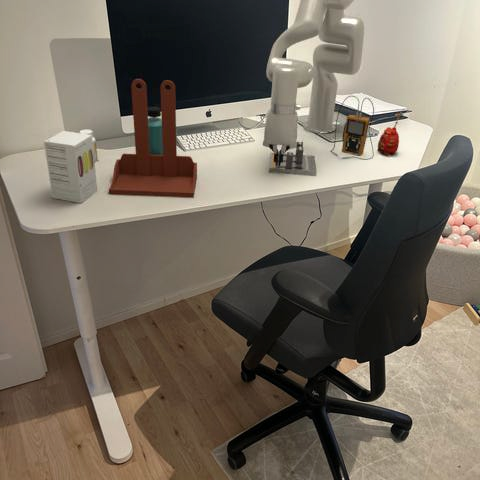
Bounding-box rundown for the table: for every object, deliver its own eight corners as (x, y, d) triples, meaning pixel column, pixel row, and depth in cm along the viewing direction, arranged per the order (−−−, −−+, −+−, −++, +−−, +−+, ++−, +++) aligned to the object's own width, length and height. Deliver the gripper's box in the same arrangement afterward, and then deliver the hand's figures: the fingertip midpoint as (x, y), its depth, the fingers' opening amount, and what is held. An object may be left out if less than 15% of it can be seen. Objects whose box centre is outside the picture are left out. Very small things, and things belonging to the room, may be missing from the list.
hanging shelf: (109, 194, 148) (98, 89, 132) (118, 175, 159) (109, 76, 143) (193, 198, 148) (193, 94, 133) (197, 178, 159) (197, 80, 144)
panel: (270, 156, 176) (270, 152, 176) (314, 160, 176) (314, 155, 175) (269, 172, 165) (269, 167, 165) (316, 175, 165) (316, 171, 164)
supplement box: (81, 204, 142) (73, 146, 133) (51, 198, 144) (42, 141, 135) (98, 189, 150) (92, 134, 141) (70, 184, 152) (62, 129, 143)
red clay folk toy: (372, 149, 187) (380, 109, 179) (389, 148, 189) (398, 107, 181) (384, 157, 180) (392, 116, 173) (401, 156, 182) (410, 114, 175)
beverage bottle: (171, 169, 164) (169, 107, 154) (158, 176, 159) (155, 113, 149) (155, 164, 167) (152, 103, 156) (141, 171, 162) (137, 108, 151)
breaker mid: (295, 159, 171) (297, 146, 168) (301, 160, 171) (303, 146, 168) (296, 162, 169) (297, 149, 166) (302, 162, 168) (303, 149, 166)
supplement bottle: (89, 155, 171) (85, 127, 166) (101, 159, 168) (98, 131, 163) (76, 160, 167) (73, 132, 162) (89, 164, 164) (85, 135, 159)
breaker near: (285, 164, 166) (286, 151, 164) (291, 165, 166) (293, 151, 164) (285, 167, 164) (287, 154, 162) (291, 168, 164) (293, 154, 162)
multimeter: (324, 156, 179) (332, 99, 168) (334, 147, 187) (342, 92, 176) (365, 166, 173) (376, 107, 163) (373, 156, 181) (384, 100, 171)
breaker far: (295, 153, 175) (297, 140, 172) (301, 154, 175) (303, 141, 172) (295, 156, 173) (297, 143, 170) (301, 157, 173) (303, 144, 170)
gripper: (307, 105, 159) (301, 161, 168) (258, 102, 159) (255, 158, 169) (308, 113, 152) (301, 170, 162) (257, 110, 153) (253, 167, 163)
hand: (277, 164), depth 165 cm, fingers closed
